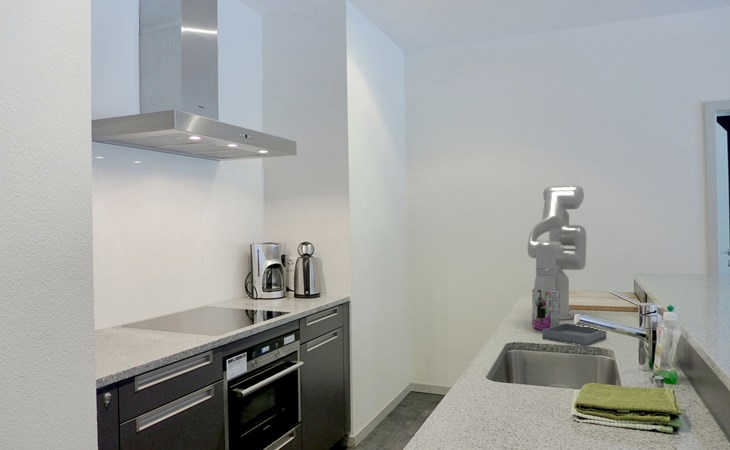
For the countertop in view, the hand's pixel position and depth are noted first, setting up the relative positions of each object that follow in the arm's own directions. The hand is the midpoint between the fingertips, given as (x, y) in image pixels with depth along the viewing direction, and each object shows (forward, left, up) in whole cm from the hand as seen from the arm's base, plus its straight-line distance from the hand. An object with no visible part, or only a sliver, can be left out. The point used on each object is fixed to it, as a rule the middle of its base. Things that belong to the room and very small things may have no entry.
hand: (545, 316), depth 223 cm
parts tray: (+6, +15, -6) cm, 17 cm away
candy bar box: (0, 0, -6) cm, 6 cm away
